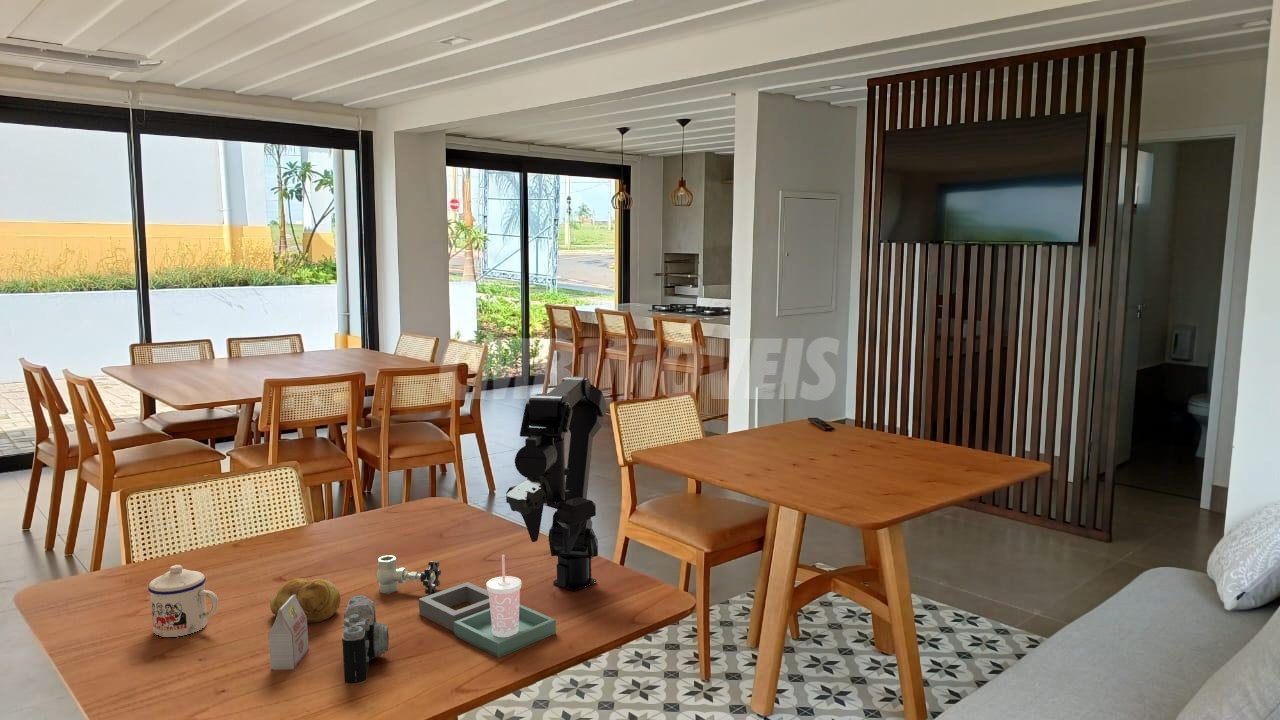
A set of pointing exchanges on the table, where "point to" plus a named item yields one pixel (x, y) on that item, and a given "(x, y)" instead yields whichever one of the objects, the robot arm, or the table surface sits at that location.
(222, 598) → the table surface
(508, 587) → the beverage cup
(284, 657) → the milk carton
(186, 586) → the teacup with lid
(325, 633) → the table surface
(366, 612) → the camera
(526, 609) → the tray
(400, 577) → the valve
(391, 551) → the table surface
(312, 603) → the bread roll
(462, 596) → the holder block
